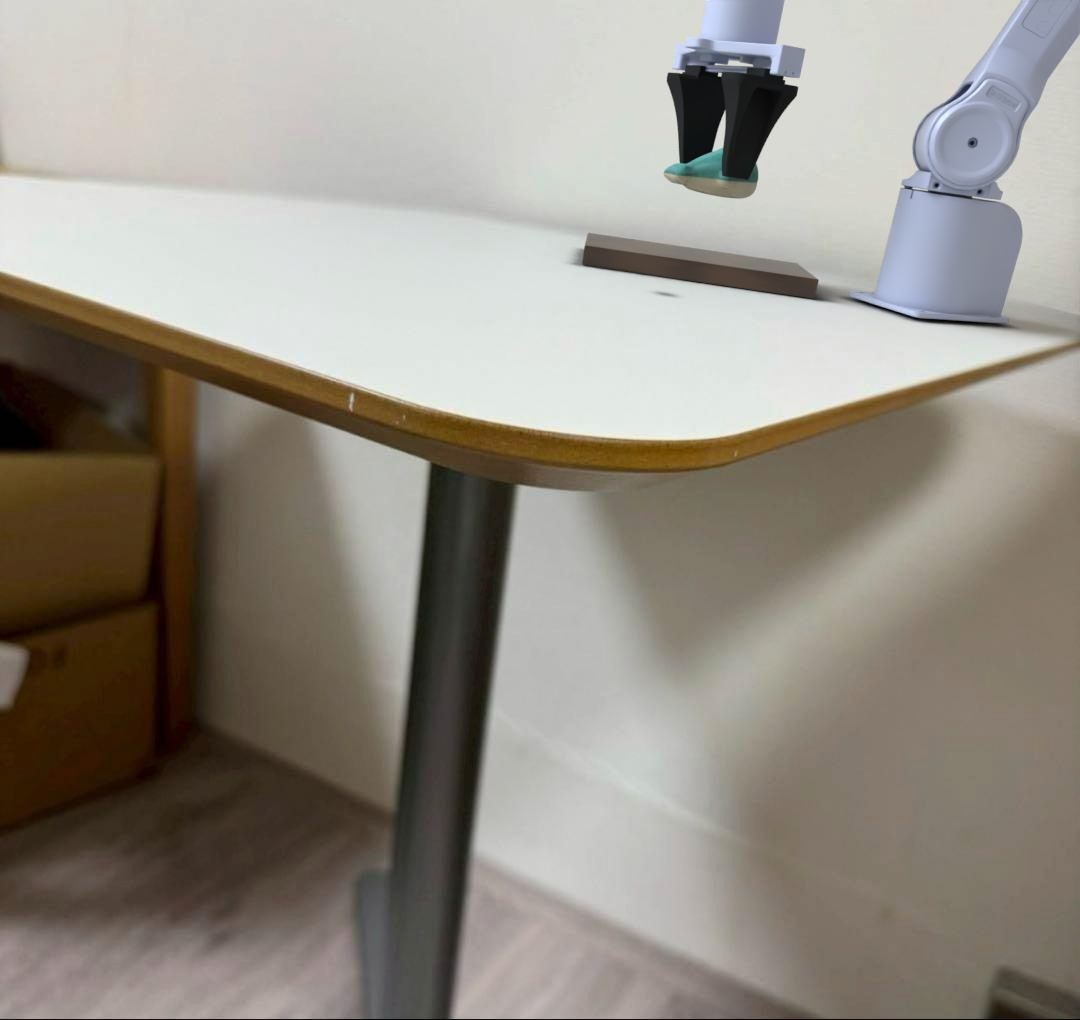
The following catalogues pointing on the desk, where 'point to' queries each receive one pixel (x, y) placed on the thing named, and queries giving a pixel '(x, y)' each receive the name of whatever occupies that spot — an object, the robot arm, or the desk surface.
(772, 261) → the walnut board
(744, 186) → the whale figurine
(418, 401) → the desk surface
